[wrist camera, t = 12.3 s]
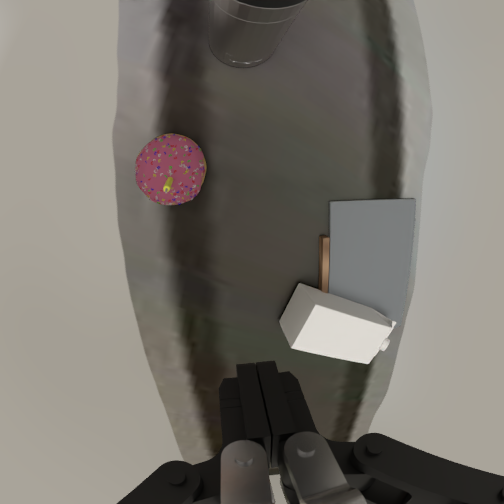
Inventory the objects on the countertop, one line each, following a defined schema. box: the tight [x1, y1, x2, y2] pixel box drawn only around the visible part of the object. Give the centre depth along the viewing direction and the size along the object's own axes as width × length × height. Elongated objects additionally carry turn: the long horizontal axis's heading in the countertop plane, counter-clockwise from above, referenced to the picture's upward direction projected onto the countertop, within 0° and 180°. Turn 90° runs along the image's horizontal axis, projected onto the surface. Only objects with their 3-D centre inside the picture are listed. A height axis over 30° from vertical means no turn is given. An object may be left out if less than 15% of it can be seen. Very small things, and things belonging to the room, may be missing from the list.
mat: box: [328, 199, 416, 328], centre depth 45 cm, size 24×16×1 cm, turn 3°
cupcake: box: [135, 133, 207, 205], centre depth 31 cm, size 9×8×12 cm
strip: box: [318, 235, 330, 294], centre depth 43 cm, size 14×1×2 cm, turn 3°
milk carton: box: [279, 283, 396, 364], centre depth 43 cm, size 7×7×19 cm
